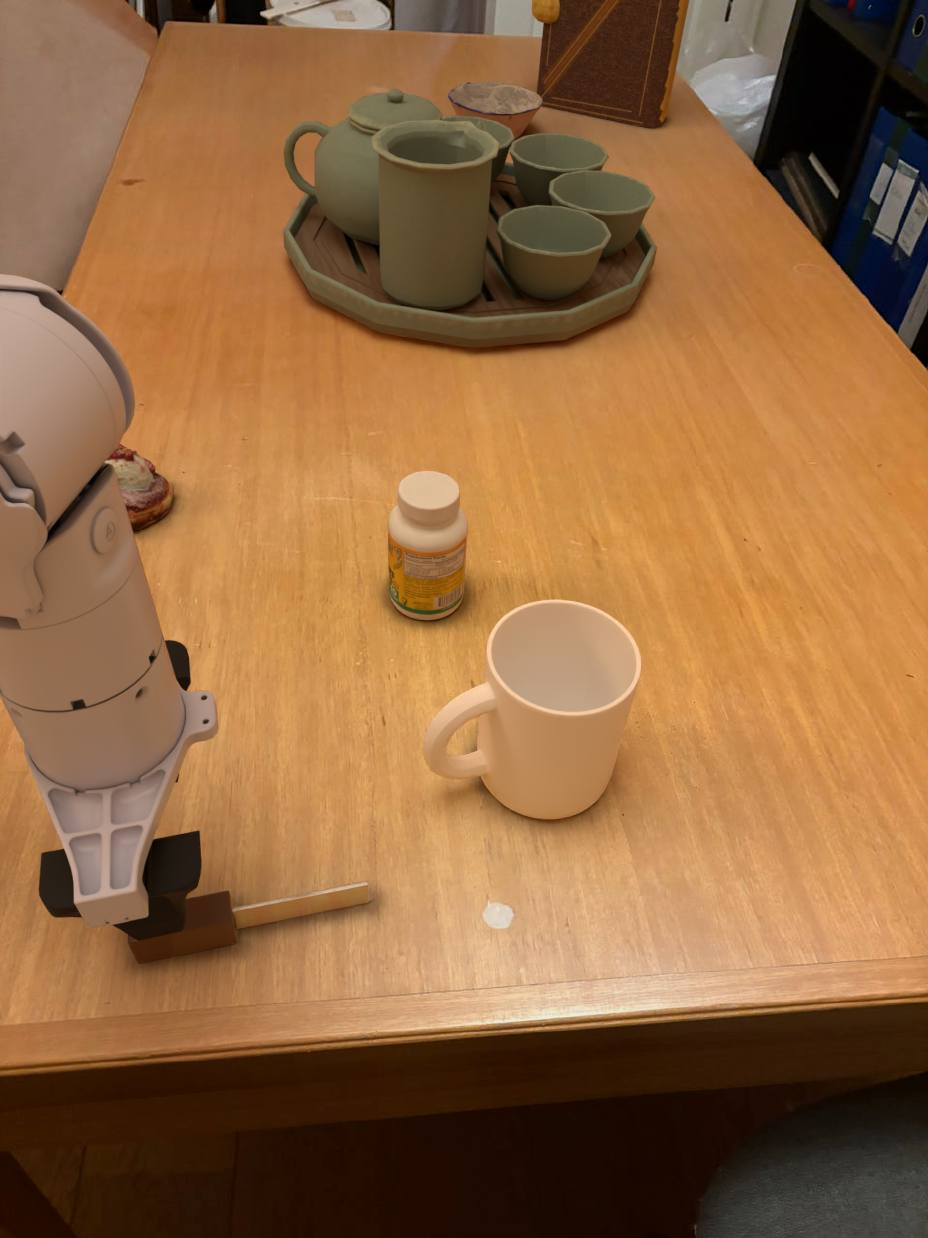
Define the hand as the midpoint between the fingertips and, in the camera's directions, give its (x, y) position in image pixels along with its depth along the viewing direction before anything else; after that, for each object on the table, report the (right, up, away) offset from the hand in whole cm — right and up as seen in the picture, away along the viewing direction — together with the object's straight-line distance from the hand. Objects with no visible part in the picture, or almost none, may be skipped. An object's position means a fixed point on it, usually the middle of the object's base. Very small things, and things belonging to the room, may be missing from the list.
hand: (157, 850), depth 42 cm
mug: (+17, +1, +14) cm, 22 cm away
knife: (+3, -6, +7) cm, 9 cm away
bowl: (+18, +79, +89) cm, 121 cm away
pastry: (-13, +19, +30) cm, 37 cm away
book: (+33, +87, +98) cm, 136 cm away
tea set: (+14, +50, +62) cm, 81 cm away
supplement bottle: (+11, +12, +25) cm, 29 cm away
